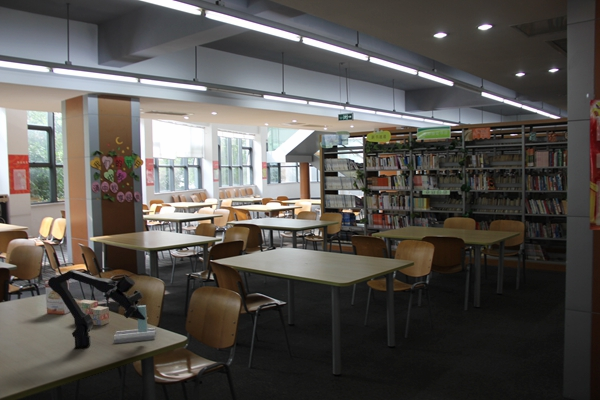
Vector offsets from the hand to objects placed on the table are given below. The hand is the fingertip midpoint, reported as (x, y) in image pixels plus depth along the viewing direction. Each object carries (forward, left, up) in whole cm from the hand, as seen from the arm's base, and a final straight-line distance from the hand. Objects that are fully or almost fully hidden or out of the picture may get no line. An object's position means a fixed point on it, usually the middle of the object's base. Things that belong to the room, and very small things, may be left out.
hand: (145, 318), depth 250 cm
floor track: (-6, +9, -12) cm, 17 cm away
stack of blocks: (-35, +49, -13) cm, 62 cm away
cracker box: (-61, +80, -13) cm, 102 cm away
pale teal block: (-1, 0, -7) cm, 7 cm away
